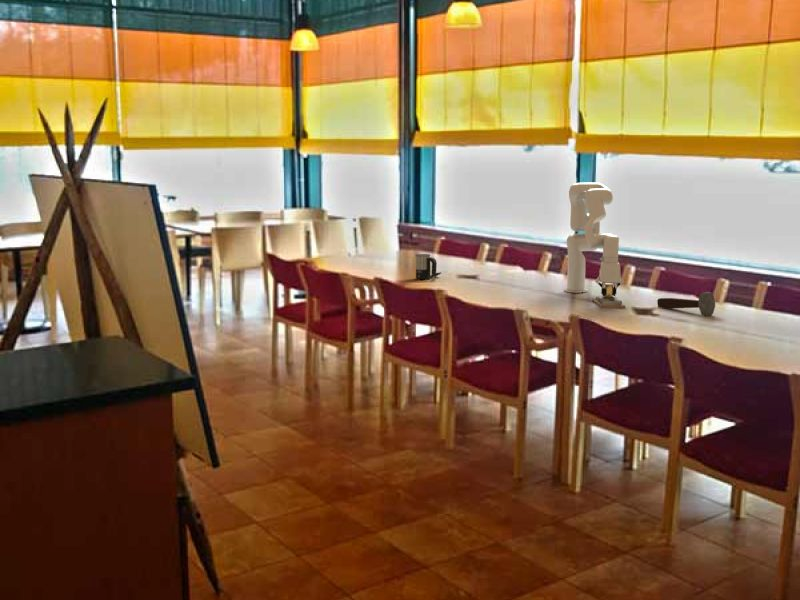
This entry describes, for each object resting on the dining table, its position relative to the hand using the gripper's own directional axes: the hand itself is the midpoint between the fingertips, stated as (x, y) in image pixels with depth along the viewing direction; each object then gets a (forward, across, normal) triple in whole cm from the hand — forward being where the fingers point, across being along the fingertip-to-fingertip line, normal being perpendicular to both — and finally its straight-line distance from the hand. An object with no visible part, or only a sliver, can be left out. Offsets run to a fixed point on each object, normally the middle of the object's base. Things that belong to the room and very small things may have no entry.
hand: (608, 295), depth 434 cm
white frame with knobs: (+5, 0, 0) cm, 5 cm away
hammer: (+5, +32, -19) cm, 38 cm away
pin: (+3, 0, 0) cm, 3 cm away
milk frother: (+5, -89, +84) cm, 122 cm away
